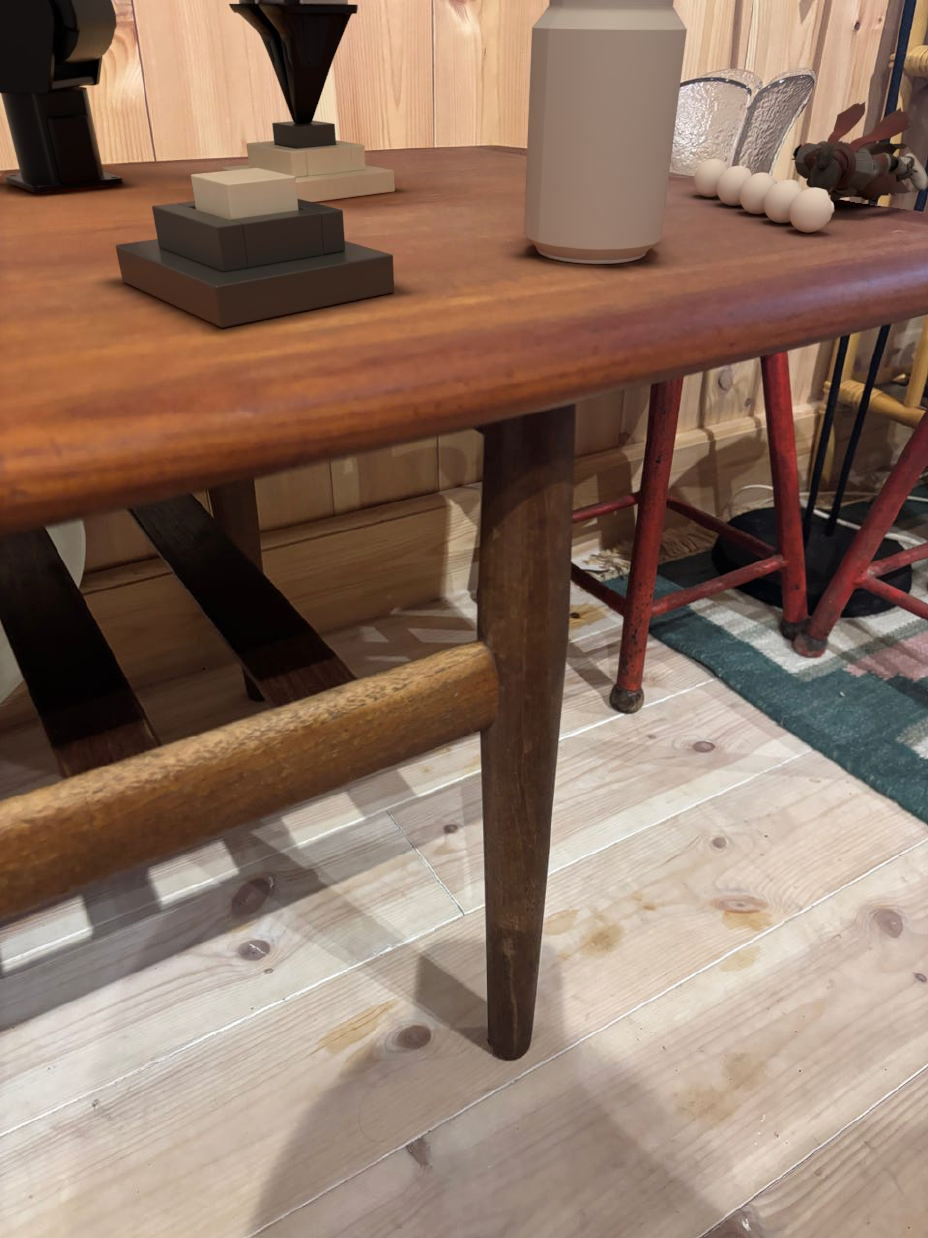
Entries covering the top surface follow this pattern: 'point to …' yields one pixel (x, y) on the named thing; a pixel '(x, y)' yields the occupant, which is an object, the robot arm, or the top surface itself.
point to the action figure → (860, 160)
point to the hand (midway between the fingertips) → (302, 123)
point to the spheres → (765, 195)
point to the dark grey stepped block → (253, 263)
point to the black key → (304, 134)
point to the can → (601, 127)
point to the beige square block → (244, 193)
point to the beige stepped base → (322, 169)
